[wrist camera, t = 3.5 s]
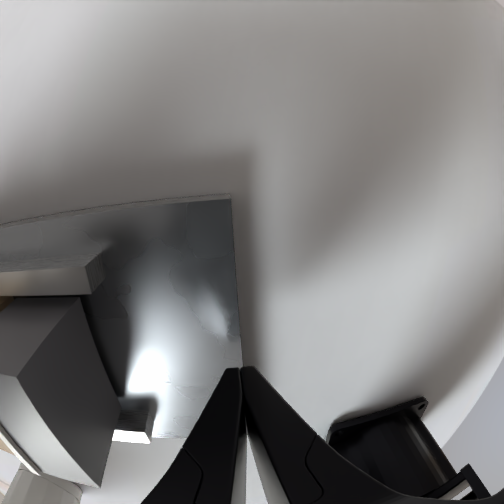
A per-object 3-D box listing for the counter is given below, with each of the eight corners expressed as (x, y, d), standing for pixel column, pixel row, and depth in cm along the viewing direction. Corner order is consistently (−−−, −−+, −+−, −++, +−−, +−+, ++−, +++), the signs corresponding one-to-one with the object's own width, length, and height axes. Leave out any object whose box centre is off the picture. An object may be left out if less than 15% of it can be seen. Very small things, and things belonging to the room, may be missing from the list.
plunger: (72, 270, 8) (-7, 347, 4) (121, 407, 9) (99, 492, 5) (9, 274, 7) (-65, 334, 3) (62, 400, 9) (30, 472, 5)
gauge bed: (229, 193, 9) (232, 205, 7) (246, 415, 12) (252, 455, 10) (-91, 248, 7) (-113, 260, 5) (-40, 380, 10) (-54, 398, 8)
